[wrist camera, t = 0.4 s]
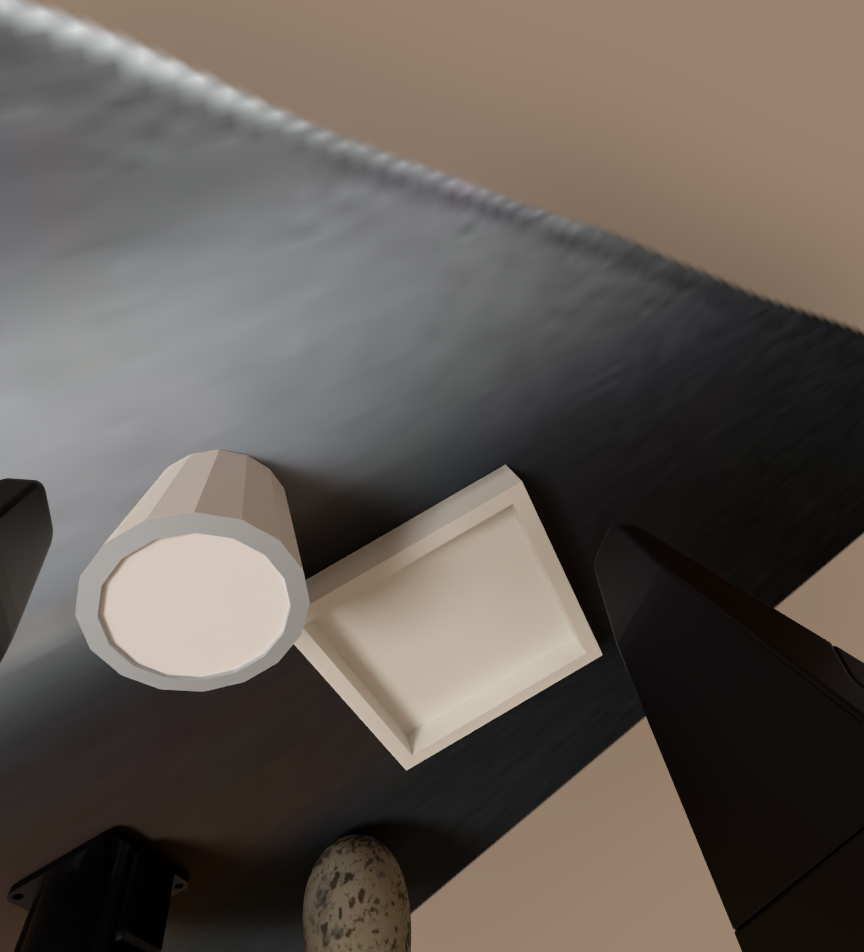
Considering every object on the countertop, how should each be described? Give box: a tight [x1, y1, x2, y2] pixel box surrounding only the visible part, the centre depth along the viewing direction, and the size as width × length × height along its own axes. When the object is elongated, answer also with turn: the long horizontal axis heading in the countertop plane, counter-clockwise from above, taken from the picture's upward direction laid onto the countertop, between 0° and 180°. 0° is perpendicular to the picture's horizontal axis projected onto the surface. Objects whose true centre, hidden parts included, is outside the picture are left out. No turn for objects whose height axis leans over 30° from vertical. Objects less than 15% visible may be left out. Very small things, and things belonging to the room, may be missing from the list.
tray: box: [294, 464, 602, 770], centre depth 27 cm, size 13×13×2 cm
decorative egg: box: [303, 834, 411, 952], centre depth 29 cm, size 6×6×10 cm
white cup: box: [75, 450, 310, 692], centre depth 20 cm, size 7×7×7 cm
